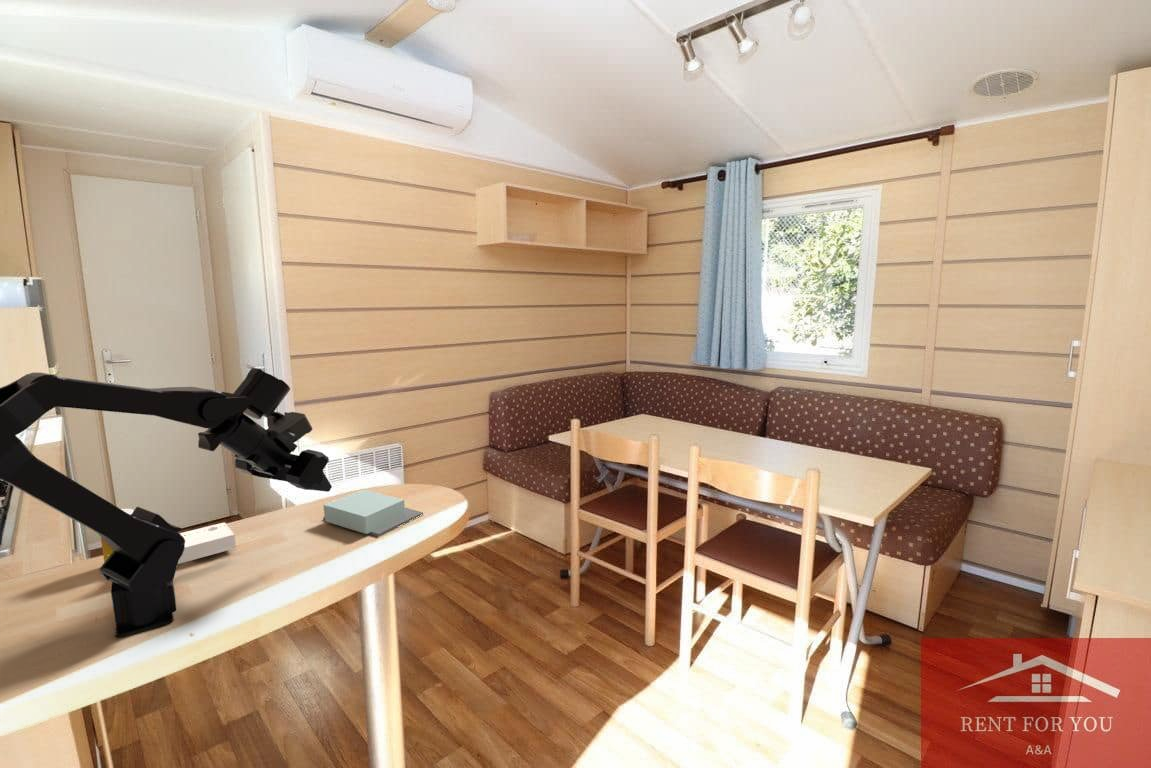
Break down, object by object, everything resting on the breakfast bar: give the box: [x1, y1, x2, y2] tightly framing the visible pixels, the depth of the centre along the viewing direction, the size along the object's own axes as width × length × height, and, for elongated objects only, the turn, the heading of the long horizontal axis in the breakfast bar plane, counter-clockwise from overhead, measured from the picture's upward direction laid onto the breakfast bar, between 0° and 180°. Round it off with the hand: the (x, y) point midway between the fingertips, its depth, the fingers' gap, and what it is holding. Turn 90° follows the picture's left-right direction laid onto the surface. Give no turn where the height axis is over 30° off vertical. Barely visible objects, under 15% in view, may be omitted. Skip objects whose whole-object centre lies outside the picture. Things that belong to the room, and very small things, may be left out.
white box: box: [177, 522, 237, 565], centre depth 98 cm, size 13×7×8 cm, turn 134°
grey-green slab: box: [323, 488, 406, 535], centre depth 114 cm, size 4×12×10 cm
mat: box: [322, 507, 424, 538], centre depth 117 cm, size 12×16×1 cm
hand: (313, 484), depth 103 cm, fingers open, 9 cm apart
